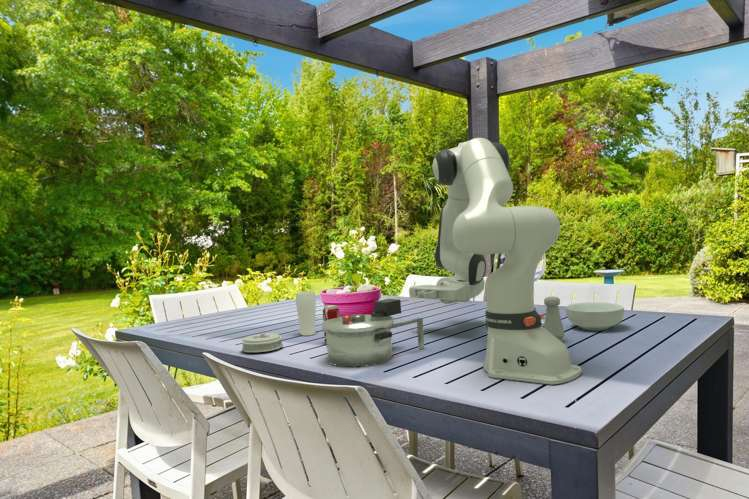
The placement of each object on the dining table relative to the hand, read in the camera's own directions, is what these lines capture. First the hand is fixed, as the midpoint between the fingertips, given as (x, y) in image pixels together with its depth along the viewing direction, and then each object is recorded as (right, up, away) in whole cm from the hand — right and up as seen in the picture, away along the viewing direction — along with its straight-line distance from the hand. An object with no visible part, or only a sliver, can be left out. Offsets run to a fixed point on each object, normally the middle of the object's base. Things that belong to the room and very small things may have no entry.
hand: (421, 295), depth 162 cm
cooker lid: (-18, -6, -17) cm, 25 cm away
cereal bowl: (+55, -11, +1) cm, 56 cm away
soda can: (-28, -16, +4) cm, 32 cm away
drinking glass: (-38, -16, +20) cm, 46 cm away
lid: (-50, -18, +1) cm, 53 cm away
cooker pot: (-15, -16, -15) cm, 26 cm away
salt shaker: (+37, -12, -13) cm, 41 cm away
